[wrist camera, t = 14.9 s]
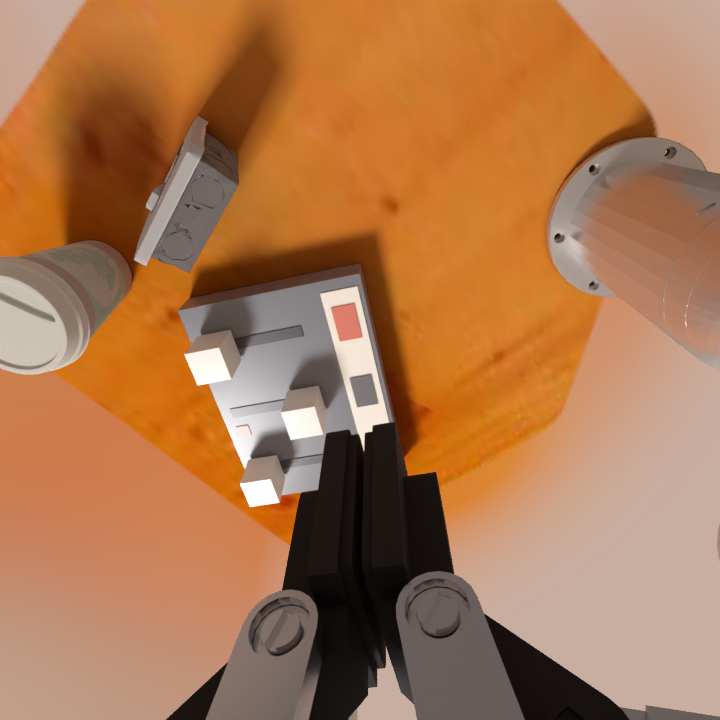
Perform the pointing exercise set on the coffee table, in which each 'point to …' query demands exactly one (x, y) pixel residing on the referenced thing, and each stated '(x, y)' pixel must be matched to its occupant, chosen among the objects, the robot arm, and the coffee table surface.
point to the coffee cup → (57, 303)
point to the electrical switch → (189, 200)
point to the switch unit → (296, 363)
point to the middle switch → (304, 412)
